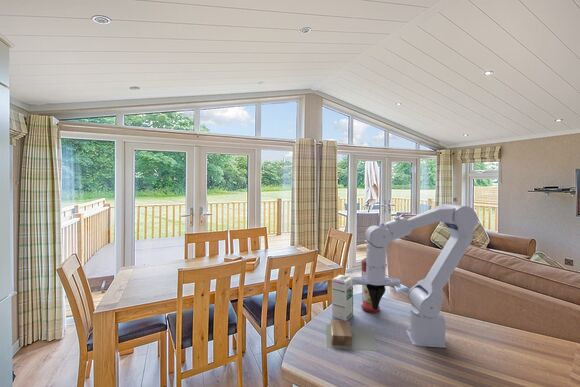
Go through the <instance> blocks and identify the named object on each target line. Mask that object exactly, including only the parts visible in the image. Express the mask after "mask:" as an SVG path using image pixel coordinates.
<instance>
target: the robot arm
mask: <svg viewBox="0 0 580 387" xmlns="http://www.w3.org/2000/svg"><path fill="white" fill-rule="evenodd" d="M478 221H479V218H478V217H477V214H476V211H475V210H474V208H472V207H471V206H468V205H459V204H454V203H451V202H450V203H449V202H446V203H444V204H439V205H436V206H435V207H433V208H431V209H428V210H426V211H423V212H421V213H419V214H416V215H414V216H411V217H409V218H406V217H404V216H401V217H400V216H394V217H393V219H392V220H389V221H386V222H379V224H378V225H373V224H372V225H370V226H369V227H367V229H366V230H365V233H364V238H365V240H366V257H365V258H366V276H362V275H361V276H350V277H351V284H352V285H353V286H356V285H359V286H362V285H366V286H367V289H368V291H369V294H370V297H371V302H372V308H373V309H375V310H378V305H379V306H380V302H381V300H382V298H383V296H384V294H385V292H386V287H396V288H401V280H400V279H399V278H392V277H387V276H386V268H387V267H386V266H387V246H388V245H389V243H390V242H392V241H395V240H398V239H401V238H403V237H406V236H409V235H411V233H412V231H413V230H414V229H417V228H420V227H424V226H427V225H430V224H434V223H437V222H439V223H443V224H444V225H445V227H446V229H447V230H448V233H449V234H450V236H449V239H447V241H446V243H445V245H444V246H443V248H442V250H441V251H440V253H439V255H438V256H437V257H436V260H435V261H434V263H433V265H431V268H430V270H429V271H428V273H427V275H426V276H425V278H423V279H420V280H418V281H417V282H416V284H414V286H412V287H411V288H410V289H409V290H408V292H407V298H408V301H409V302H410V304H411V305H410V306H411V307H410V327H409V328H410V330H405V333H406V334H407V336H408V338H409V340H410V342H411V343H412V345H413V346H418V347H419V346H420V347H429V348H447V345H446V329H447V328H446V325H447V324H446V321H445V320H446V319H445V316H444V314H443V313H442V312H441V310H442V305H443V304H442V303H444V302H443V301H444V300H445V296H444V292H443V289H444V287H445V286H446V284H447V282H448V281H449V279H450V277H451V276H452V274H453V273H454V271H455V269H456V268H457V266H458V264H459V263H460V261H461V259H462V258H463V256H464V255H465V253H466V251H467V250H468V249H469V247H470V245H471V244H472V242H473V239H474V232H475V226H476V225H477V223H479V222H478ZM378 311H379V310H378Z"/></svg>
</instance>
